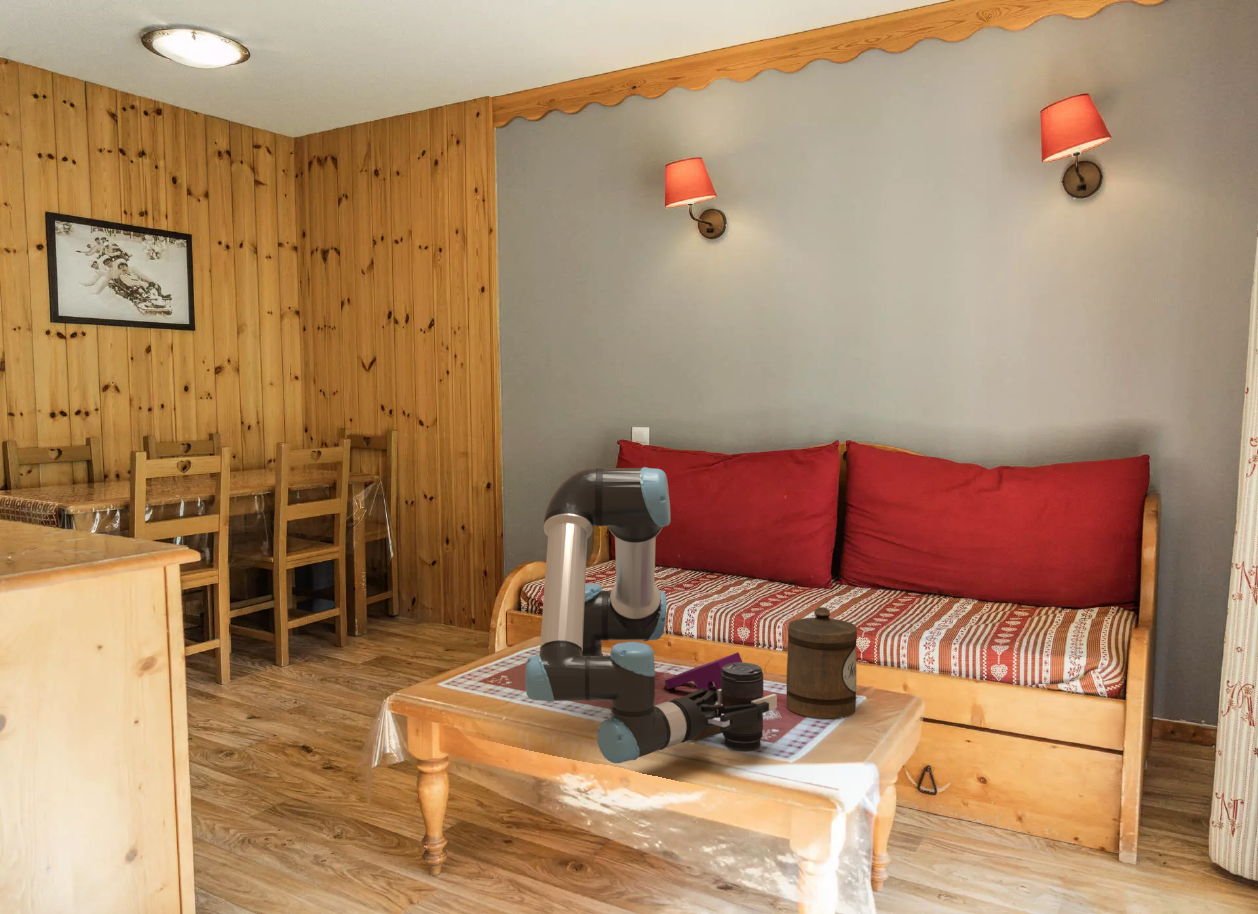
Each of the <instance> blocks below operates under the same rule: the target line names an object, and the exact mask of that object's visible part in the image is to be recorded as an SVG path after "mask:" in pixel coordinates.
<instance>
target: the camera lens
mask: <svg viewBox="0 0 1258 914" xmlns="http://www.w3.org/2000/svg"><path fill="white" fill-rule="evenodd" d="M721 692H722V706H733V705H742V704H751V701H753V700H756V699H759V698H762V697H764V673H763V668H762V666H760V665H758V664H755V663H752V662H743V661H742V662H738V663H730V664H727V665H725V666H723V668H722V672H721ZM763 729H764V713H762V721H760V722H756V723H751V724H747V725H743V726H738V727H734V728H731V729H729V730H727V731H723V732H722V736H723V737H724V743H725V745H726V746H727V747H728V748H730V749H734V750H738V751H739V750H740V751H750V750H755V749H757V748H759V747H760V745H761V739H762V737H763V731H764V730H763Z"/></svg>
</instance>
